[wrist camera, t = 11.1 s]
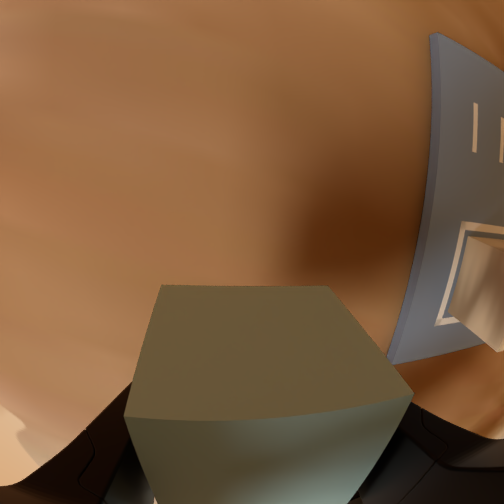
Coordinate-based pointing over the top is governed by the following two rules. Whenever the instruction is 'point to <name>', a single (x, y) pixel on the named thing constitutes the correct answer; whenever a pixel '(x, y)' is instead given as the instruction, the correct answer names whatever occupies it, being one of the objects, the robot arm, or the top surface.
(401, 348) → the blueprint board
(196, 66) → the top surface
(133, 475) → the robot arm
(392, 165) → the top surface
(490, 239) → the maple block
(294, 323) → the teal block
